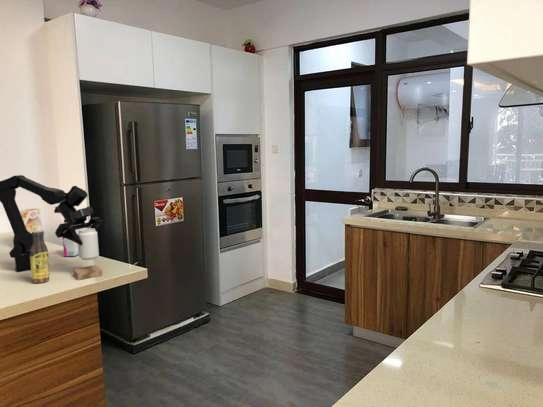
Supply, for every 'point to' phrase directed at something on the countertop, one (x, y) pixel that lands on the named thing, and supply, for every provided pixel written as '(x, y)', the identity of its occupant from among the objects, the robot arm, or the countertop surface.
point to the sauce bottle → (39, 258)
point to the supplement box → (70, 248)
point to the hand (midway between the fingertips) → (90, 242)
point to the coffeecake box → (31, 219)
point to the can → (88, 244)
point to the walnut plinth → (87, 272)
